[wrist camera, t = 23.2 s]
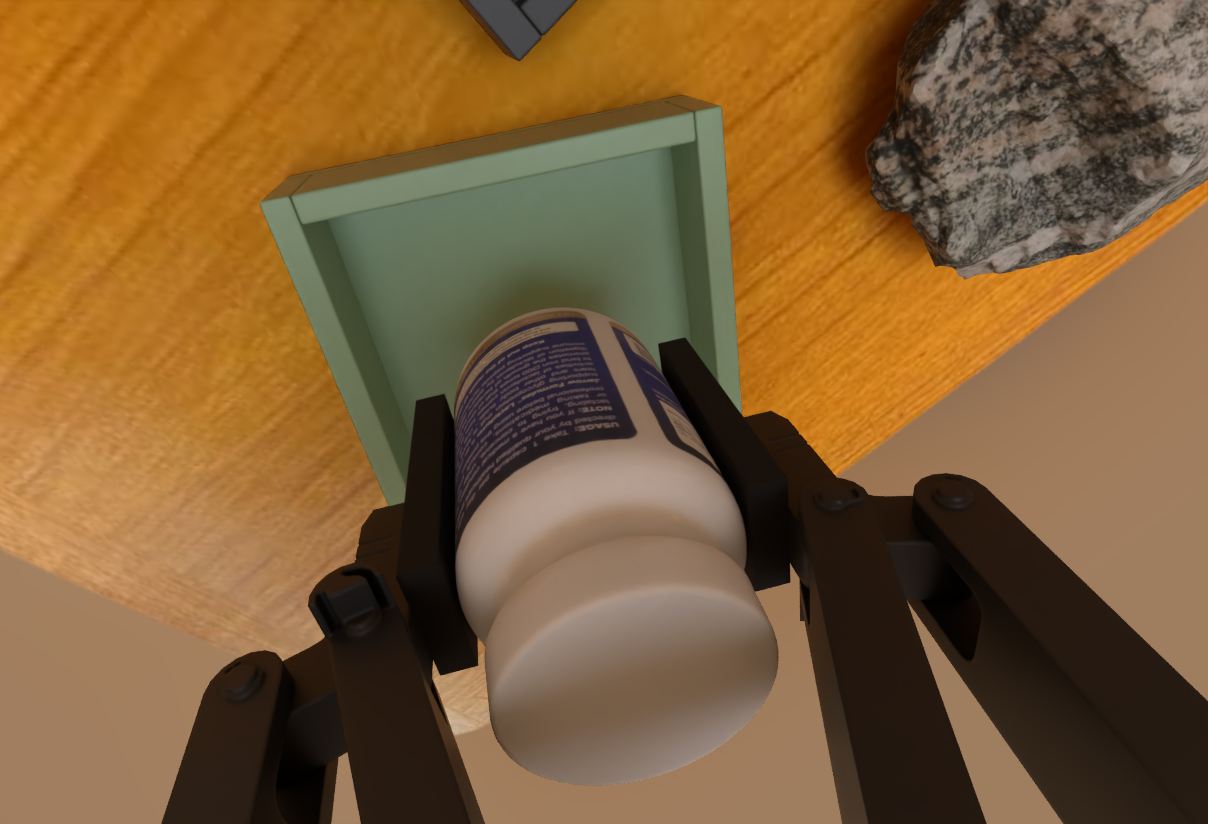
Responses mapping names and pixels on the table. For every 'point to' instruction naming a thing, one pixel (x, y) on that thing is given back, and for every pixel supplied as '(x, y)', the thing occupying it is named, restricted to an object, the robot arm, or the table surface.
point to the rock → (1042, 125)
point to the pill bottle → (599, 557)
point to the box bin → (517, 21)
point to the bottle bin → (509, 253)
